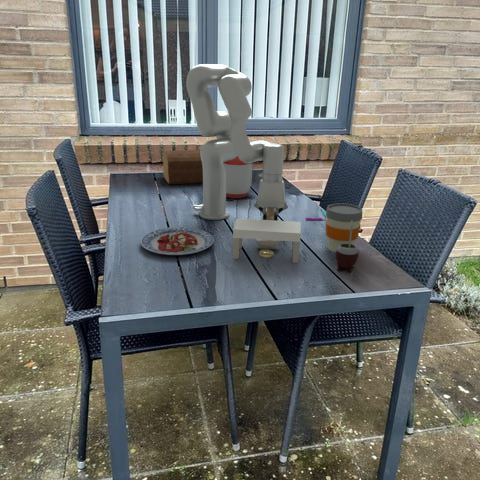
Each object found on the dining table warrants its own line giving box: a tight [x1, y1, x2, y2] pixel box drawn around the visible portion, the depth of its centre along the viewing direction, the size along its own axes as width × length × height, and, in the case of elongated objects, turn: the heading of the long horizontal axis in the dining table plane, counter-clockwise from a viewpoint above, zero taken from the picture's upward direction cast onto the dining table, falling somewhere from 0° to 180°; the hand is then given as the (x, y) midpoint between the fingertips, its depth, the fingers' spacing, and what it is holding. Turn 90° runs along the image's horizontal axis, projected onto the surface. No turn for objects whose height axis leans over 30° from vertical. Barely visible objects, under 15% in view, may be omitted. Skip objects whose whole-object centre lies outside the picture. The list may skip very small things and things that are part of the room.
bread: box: [162, 148, 203, 185], centre depth 250 cm, size 18×30×16 cm, turn 107°
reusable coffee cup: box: [325, 202, 363, 253], centre depth 165 cm, size 13×13×15 cm
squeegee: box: [305, 208, 327, 222], centre depth 195 cm, size 29×2×10 cm
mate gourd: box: [335, 220, 359, 274], centre depth 149 cm, size 8×8×15 cm
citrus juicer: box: [223, 156, 255, 199], centre depth 224 cm, size 16×17×20 cm
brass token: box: [258, 249, 275, 259], centre depth 161 cm, size 5×5×1 cm
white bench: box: [232, 217, 302, 264], centre depth 160 cm, size 22×11×10 cm, turn 84°
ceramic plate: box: [140, 226, 214, 256], centre depth 167 cm, size 26×26×3 cm
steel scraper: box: [255, 208, 280, 250], centre depth 173 cm, size 8×21×12 cm, turn 174°
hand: (270, 223), depth 182 cm, fingers closed on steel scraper, 3 cm apart
